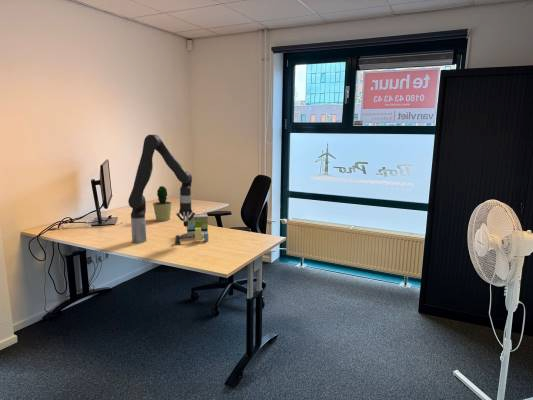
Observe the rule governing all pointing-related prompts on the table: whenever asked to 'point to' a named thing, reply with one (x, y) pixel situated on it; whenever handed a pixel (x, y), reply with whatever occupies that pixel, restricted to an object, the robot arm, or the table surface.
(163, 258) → the table surface
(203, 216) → the tea box
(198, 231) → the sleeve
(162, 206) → the potted cactus
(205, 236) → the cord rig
